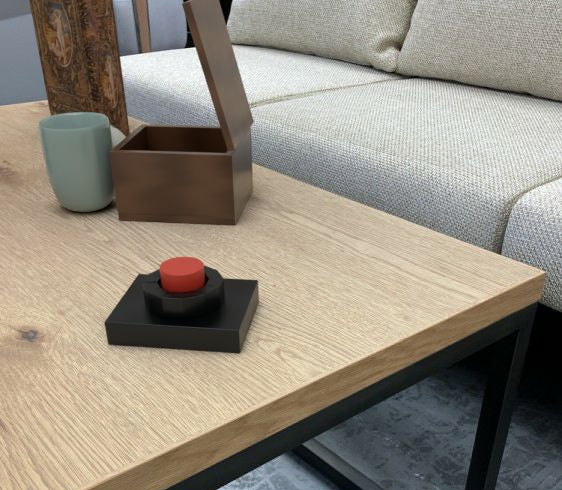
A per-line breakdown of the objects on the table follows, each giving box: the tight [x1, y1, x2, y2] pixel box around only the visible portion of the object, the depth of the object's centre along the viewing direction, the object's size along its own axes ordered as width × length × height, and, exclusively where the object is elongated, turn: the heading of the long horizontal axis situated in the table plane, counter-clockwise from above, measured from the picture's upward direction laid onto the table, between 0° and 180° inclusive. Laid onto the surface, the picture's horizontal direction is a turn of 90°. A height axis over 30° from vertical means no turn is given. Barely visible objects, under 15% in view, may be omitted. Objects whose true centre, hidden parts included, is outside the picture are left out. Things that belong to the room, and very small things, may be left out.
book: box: [28, 0, 131, 137], centre depth 105 cm, size 16×6×25 cm, turn 42°
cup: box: [37, 112, 115, 213], centre depth 81 cm, size 8×8×10 cm
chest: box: [109, 123, 254, 226], centre depth 82 cm, size 14×12×8 cm
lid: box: [181, 0, 255, 152], centre depth 75 cm, size 14×12×1 cm
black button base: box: [104, 265, 260, 354], centre depth 59 cm, size 11×9×4 cm
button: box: [159, 256, 205, 292], centre depth 58 cm, size 4×4×2 cm
